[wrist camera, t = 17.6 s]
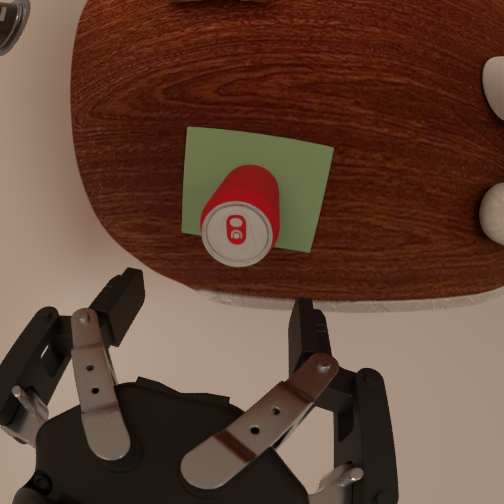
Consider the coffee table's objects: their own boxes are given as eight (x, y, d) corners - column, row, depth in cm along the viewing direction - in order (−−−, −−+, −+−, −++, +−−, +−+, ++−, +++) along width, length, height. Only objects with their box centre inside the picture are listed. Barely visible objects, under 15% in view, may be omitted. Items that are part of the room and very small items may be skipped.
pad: (182, 231, 34) (181, 232, 34) (188, 126, 28) (187, 127, 27) (309, 251, 34) (309, 252, 33) (333, 147, 27) (334, 147, 27)
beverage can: (224, 215, 32) (198, 271, 22) (222, 163, 29) (189, 195, 19) (278, 216, 31) (278, 274, 21) (280, 163, 28) (281, 196, 18)
